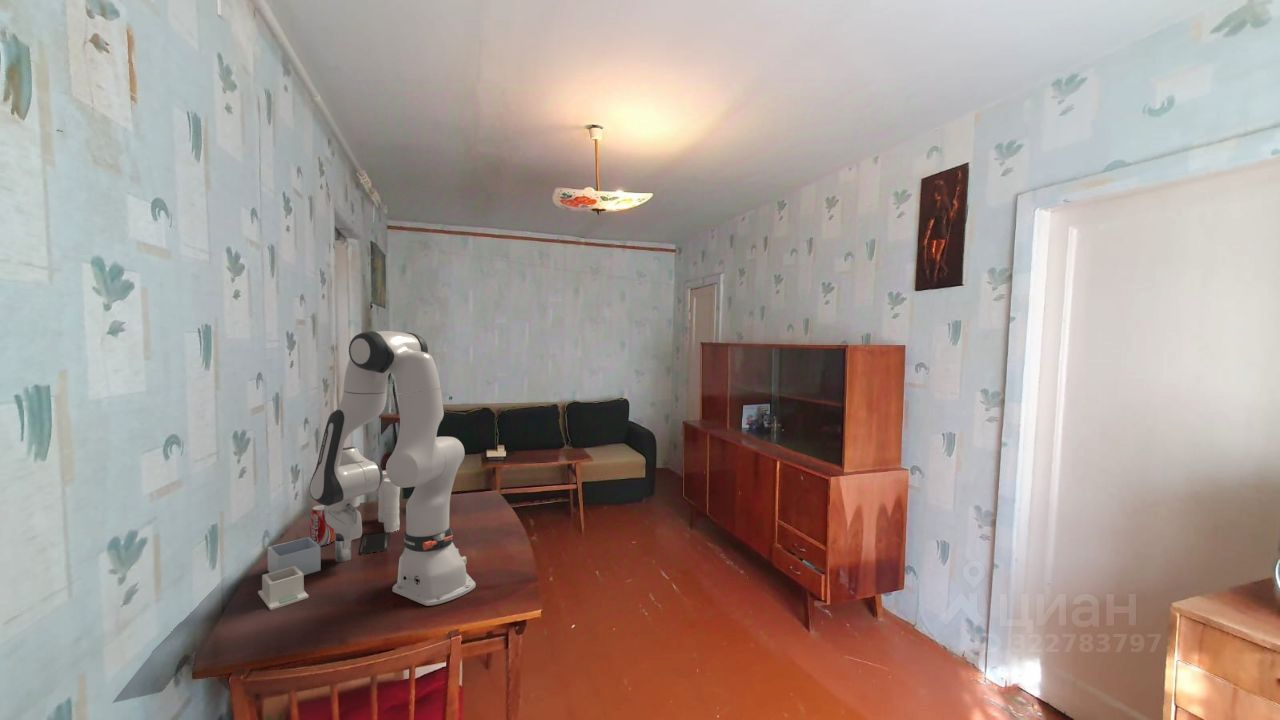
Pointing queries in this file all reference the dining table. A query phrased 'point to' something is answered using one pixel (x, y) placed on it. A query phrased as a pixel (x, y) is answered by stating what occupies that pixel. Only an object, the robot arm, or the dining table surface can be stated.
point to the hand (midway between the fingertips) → (343, 545)
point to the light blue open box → (295, 556)
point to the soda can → (320, 527)
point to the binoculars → (389, 504)
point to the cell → (341, 549)
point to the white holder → (282, 587)
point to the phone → (374, 543)
